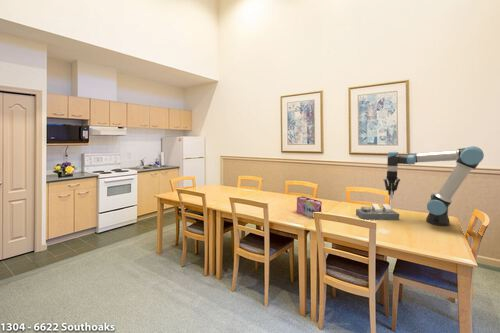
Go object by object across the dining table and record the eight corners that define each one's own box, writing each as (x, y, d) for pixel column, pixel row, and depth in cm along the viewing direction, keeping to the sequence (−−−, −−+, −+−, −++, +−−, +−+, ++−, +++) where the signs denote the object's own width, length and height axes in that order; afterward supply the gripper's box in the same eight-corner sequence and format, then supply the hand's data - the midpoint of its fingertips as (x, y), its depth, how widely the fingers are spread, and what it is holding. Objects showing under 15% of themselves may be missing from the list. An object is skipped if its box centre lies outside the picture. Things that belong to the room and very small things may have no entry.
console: (390, 214, 226) (391, 205, 225) (399, 219, 213) (399, 210, 212) (355, 214, 227) (356, 205, 226) (362, 219, 213) (362, 210, 212)
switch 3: (387, 205, 224) (388, 203, 223) (392, 212, 216) (393, 210, 215) (381, 205, 224) (382, 203, 223) (386, 212, 216) (387, 210, 215)
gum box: (322, 217, 219) (323, 201, 217) (316, 219, 215) (316, 203, 213) (302, 210, 239) (302, 196, 237) (296, 212, 235) (296, 197, 233)
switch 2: (377, 205, 224) (377, 203, 223) (381, 212, 216) (382, 210, 215) (371, 205, 225) (371, 203, 224) (375, 212, 217) (376, 210, 216)
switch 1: (366, 209, 224) (366, 206, 225) (371, 209, 216) (371, 206, 216) (361, 209, 225) (360, 206, 225) (365, 209, 216) (365, 206, 216)
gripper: (397, 170, 216) (396, 197, 218) (381, 170, 216) (380, 197, 219) (402, 171, 208) (401, 199, 211) (386, 171, 209) (385, 200, 211)
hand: (390, 198), depth 215 cm, fingers closed
